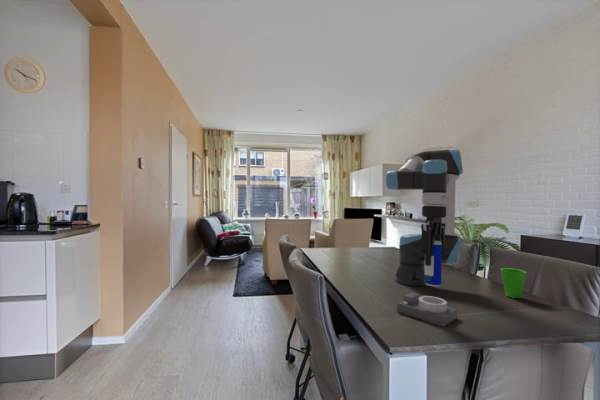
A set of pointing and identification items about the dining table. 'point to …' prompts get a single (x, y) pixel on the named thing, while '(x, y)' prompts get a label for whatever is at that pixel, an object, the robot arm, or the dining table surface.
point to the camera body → (427, 309)
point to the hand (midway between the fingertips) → (432, 273)
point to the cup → (513, 281)
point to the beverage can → (435, 266)
